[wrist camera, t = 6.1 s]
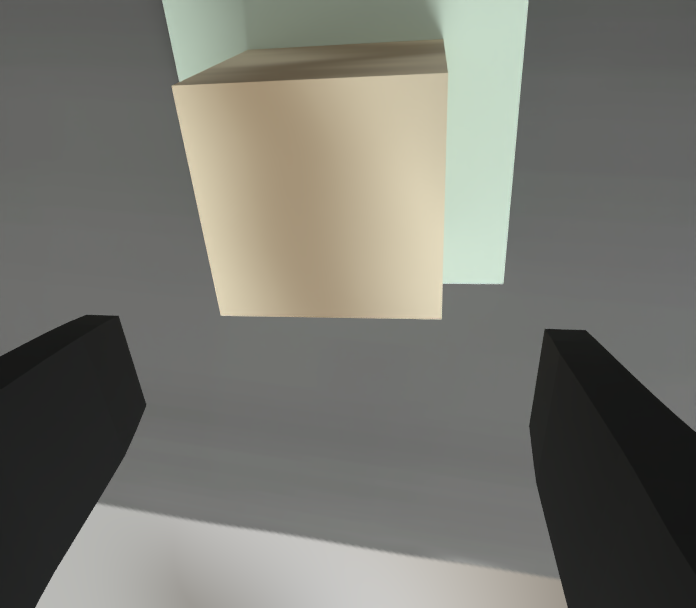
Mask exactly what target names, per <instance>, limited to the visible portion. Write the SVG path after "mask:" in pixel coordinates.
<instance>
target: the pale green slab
mask: <svg viewBox="0 0 696 608" xmlns="http://www.w3.org/2000/svg"><path fill="white" fill-rule="evenodd" d="M162 1H163V6H164V11H165V16H166V20H167V25H168V30H169V35H170V40H171V44H172V49H173V54H174V59H175V63H176V68H177V73H178V78H179V82H181V81H183V80H185V79H187V78H189V77H191V76H193V75H195V74H198V73H200V72H202V71H204V70H206V69H208V68H210V67H212V66H215V65H217V64H219V63H221V62H223V61H225V60H227V59H229V58H232V57H234V56H236V55H238V54H240V53H242V52H244V51H246V50H253V49H271V48H289V47H307V46H325V45H343V44H362V43H380V42H398V41H416V40H434V39H444V46H445V54H446V61H447V68H448V100H447V137H446V174H445V211H444V248H443V284H503V281H504V270H505V258H506V247H507V236H508V225H509V213H510V202H511V191H512V180H513V168H514V157H515V146H516V135H517V123H518V112H519V101H520V90H521V78H522V67H523V56H524V45H525V33H526V22H527V11H528V0H162Z"/></svg>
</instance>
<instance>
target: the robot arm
mask: <svg viewBox="0 0 696 608" xmlns="http://www.w3.org/2000/svg"><path fill="white" fill-rule="evenodd" d="M145 407H146V403H145V399H144V396H143V393H142V390H141V387H140V383H139V380H138V377H137V374H136V370H135V367H134V364H133V361H132V358H131V354H130V351H129V348H128V345H127V342H126V338H125V335H124V332H123V329H122V326H121V322H120V319H119V316H106V315H85V316H83V317H80V318H78V319H75V320H73V321H70V322H68V323H66V324H64V325H61V326H59V327H57V328H55V329H53V330H51V331H49V332H47V333H45V334H43V335H41V336H39V337H37V338H35V339H33V340H31V341H29V342H27V343H25V344H23V345H21V346H19V347H18V348H16V349H14V350H12V351H10V352H8V353H6V354H4V355H2V356H0V608H35V607H36V605H37V603H38V601H39V599H40V597H41V595H42V594H43V592H44V590H45V588H46V586H47V585H48V583H49V581H50V579H51V577H52V576H53V574H54V572H55V570H56V569H57V567H58V565H59V564H60V562H61V560H62V559H63V557H64V555H65V554H66V552H67V551H68V549H69V547H70V546H71V544H72V542H73V541H74V539H75V537H76V536H77V534H78V533H79V531H80V529H81V528H82V526H83V524H84V523H85V521H86V520H87V518H88V516H89V515H90V513H91V511H92V510H93V508H94V506H95V505H96V503H97V502H98V500H99V498H100V497H101V495H102V493H103V492H104V490H105V488H106V487H107V485H108V483H109V482H110V480H111V478H112V477H113V475H114V473H115V472H116V470H117V468H118V466H119V465H120V463H121V461H122V459H123V458H124V456H125V454H126V452H127V450H128V447H129V445H130V443H131V441H132V439H133V436H134V434H135V432H136V429H137V427H138V424H139V422H140V419H141V417H142V415H143V412H144V410H145ZM529 427H530V436H531V445H532V453H533V461H534V469H535V476H536V483H537V487H538V492H539V496H540V500H541V504H542V508H543V512H544V516H545V520H546V524H547V528H548V532H549V536H550V540H551V543H552V547H553V551H554V555H555V559H556V563H557V567H558V571H559V575H560V579H561V583H562V586H563V590H564V594H565V598H566V602H567V606H568V608H696V432H695V431H694V430H692V429H691V428H690V427H689V426H688V425H687V424H685V423H684V422H683V421H682V420H681V419H680V418H679V417H677V416H676V415H675V414H674V413H673V412H672V411H671V410H670V409H669V408H667V407H666V406H665V405H664V404H663V403H662V402H661V401H660V400H659V399H658V398H656V397H655V396H654V395H653V394H652V393H651V392H650V391H649V390H648V389H647V388H646V387H645V386H644V385H642V384H641V383H640V382H639V381H638V380H637V379H636V378H635V377H634V376H633V375H632V374H631V373H630V372H629V371H628V370H627V369H626V368H625V367H624V366H623V365H621V364H620V363H619V362H618V361H617V360H616V359H615V358H614V357H613V356H612V355H611V354H610V353H609V352H608V351H607V350H606V349H605V348H604V347H603V346H602V345H601V344H600V343H599V342H598V341H597V340H596V339H595V338H593V337H592V336H591V335H590V334H589V333H588V332H587V331H586V330H561V329H545V331H544V337H543V343H542V350H541V356H540V362H539V368H538V375H537V381H536V387H535V393H534V400H533V406H532V412H531V418H530V425H529Z"/></svg>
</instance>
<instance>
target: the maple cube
mask: <svg viewBox="0 0 696 608" xmlns="http://www.w3.org/2000/svg"><path fill="white" fill-rule="evenodd" d="M172 90H173V95H174V99H175V104H176V109H177V113H178V118H179V123H180V127H181V132H182V137H183V141H184V146H185V151H186V155H187V160H188V165H189V169H190V174H191V179H192V183H193V188H194V193H195V197H196V202H197V206H198V211H199V216H200V220H201V225H202V230H203V234H204V239H205V244H206V248H207V253H208V258H209V262H210V267H211V272H212V276H213V281H214V286H215V290H216V295H217V300H218V304H219V309H220V314H221V316H269V317H331V318H393V319H442V284H443V248H444V211H445V174H446V137H447V100H448V68H447V61H446V54H445V46H444V39H434V40H416V41H398V42H380V43H362V44H343V45H325V46H307V47H289V48H271V49H253V50H246V51H244V52H242V53H240V54H238V55H236V56H234V57H232V58H229V59H227V60H225V61H223V62H221V63H219V64H217V65H215V66H212V67H210V68H208V69H206V70H204V71H202V72H200V73H198V74H195V75H193V76H191V77H189V78H187V79H185V80H183V81H181V82H178V83H176V84H174V85H172Z"/></svg>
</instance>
